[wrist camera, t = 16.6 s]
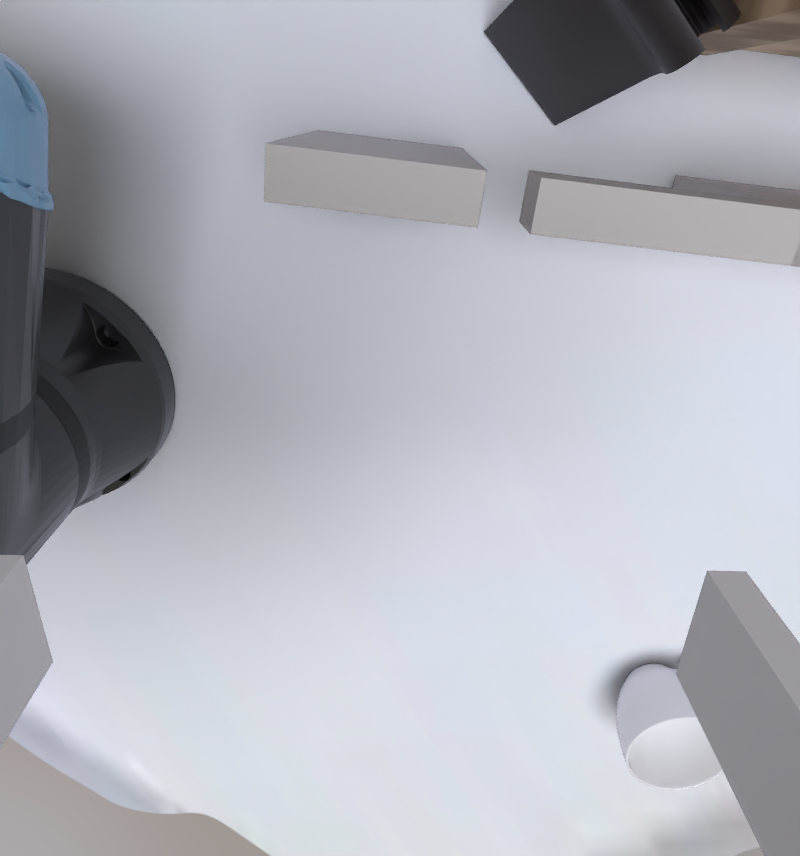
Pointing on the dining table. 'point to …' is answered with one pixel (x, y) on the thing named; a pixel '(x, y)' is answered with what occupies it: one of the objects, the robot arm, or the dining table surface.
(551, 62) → the phone stand
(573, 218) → the wall
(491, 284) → the dining table surface
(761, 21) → the door
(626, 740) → the cup
